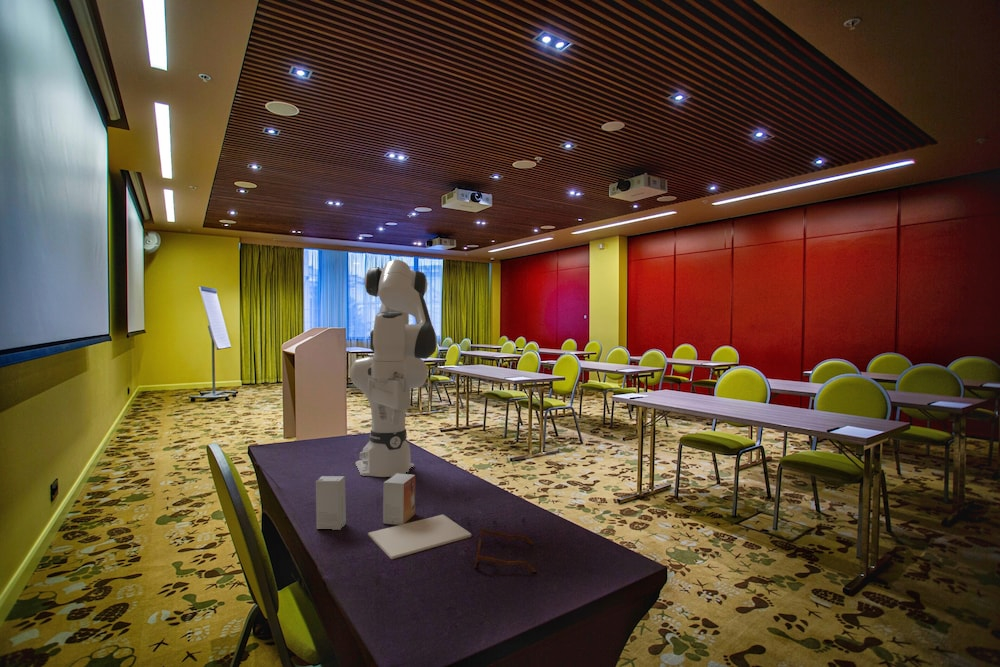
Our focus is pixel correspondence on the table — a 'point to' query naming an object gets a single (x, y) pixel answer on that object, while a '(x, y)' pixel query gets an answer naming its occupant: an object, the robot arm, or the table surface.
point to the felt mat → (418, 536)
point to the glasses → (499, 559)
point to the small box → (398, 499)
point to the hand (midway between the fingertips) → (388, 422)
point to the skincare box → (330, 502)
